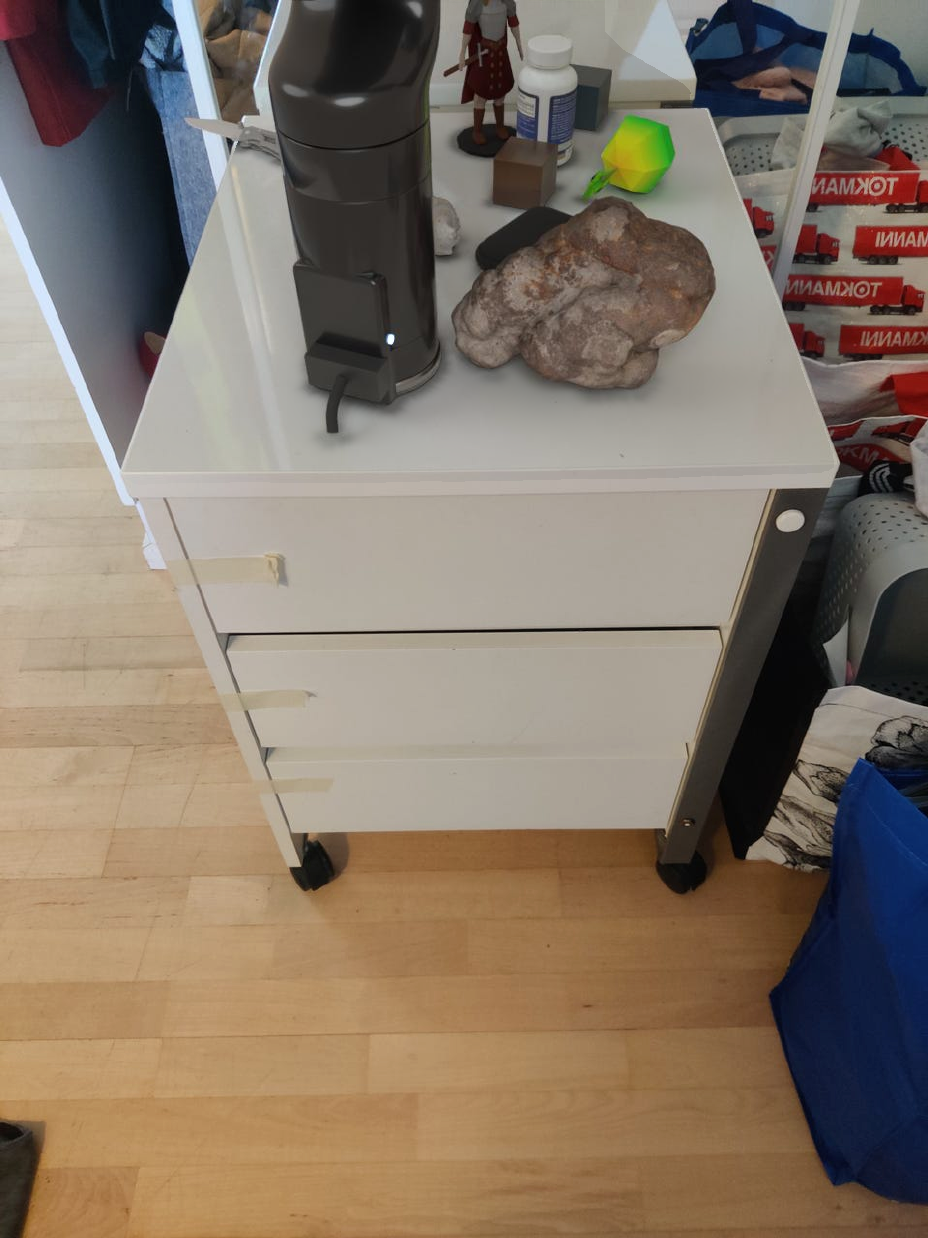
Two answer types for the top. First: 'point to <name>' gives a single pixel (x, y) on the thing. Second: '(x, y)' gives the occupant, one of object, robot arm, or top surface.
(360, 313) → the robot arm
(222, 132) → the knife
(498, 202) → the walnut block
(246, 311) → the top surface
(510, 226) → the carrying case
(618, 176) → the apple
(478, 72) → the figurine
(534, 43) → the pill bottle
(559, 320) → the rock
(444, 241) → the seashell
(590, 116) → the slate block
